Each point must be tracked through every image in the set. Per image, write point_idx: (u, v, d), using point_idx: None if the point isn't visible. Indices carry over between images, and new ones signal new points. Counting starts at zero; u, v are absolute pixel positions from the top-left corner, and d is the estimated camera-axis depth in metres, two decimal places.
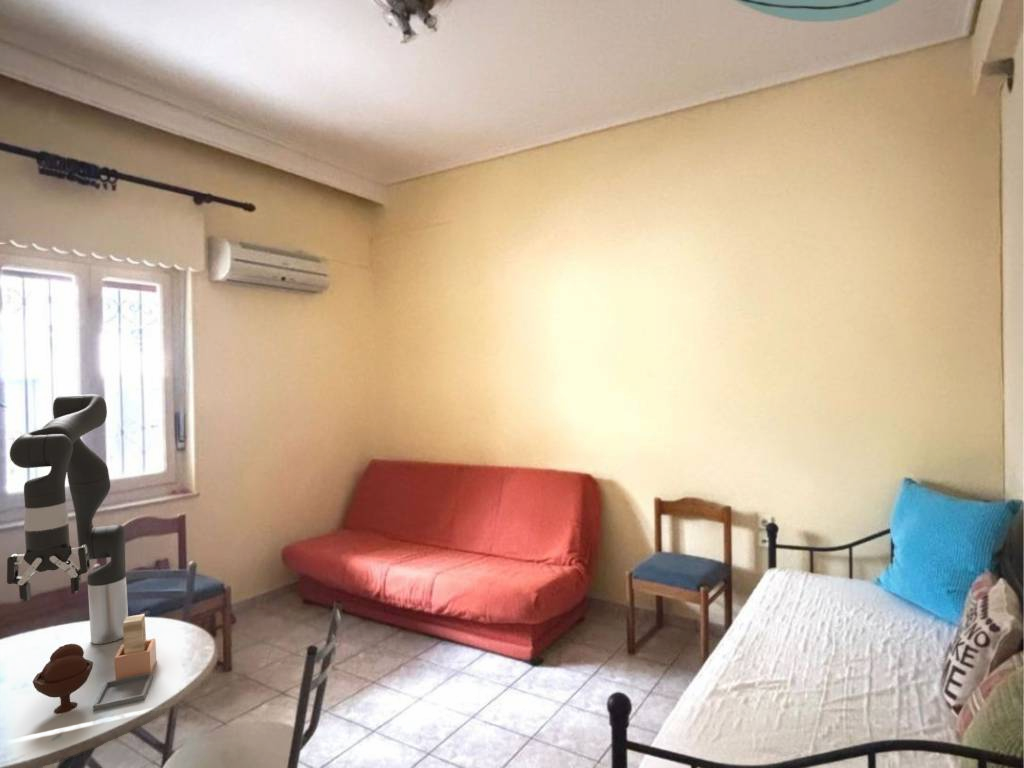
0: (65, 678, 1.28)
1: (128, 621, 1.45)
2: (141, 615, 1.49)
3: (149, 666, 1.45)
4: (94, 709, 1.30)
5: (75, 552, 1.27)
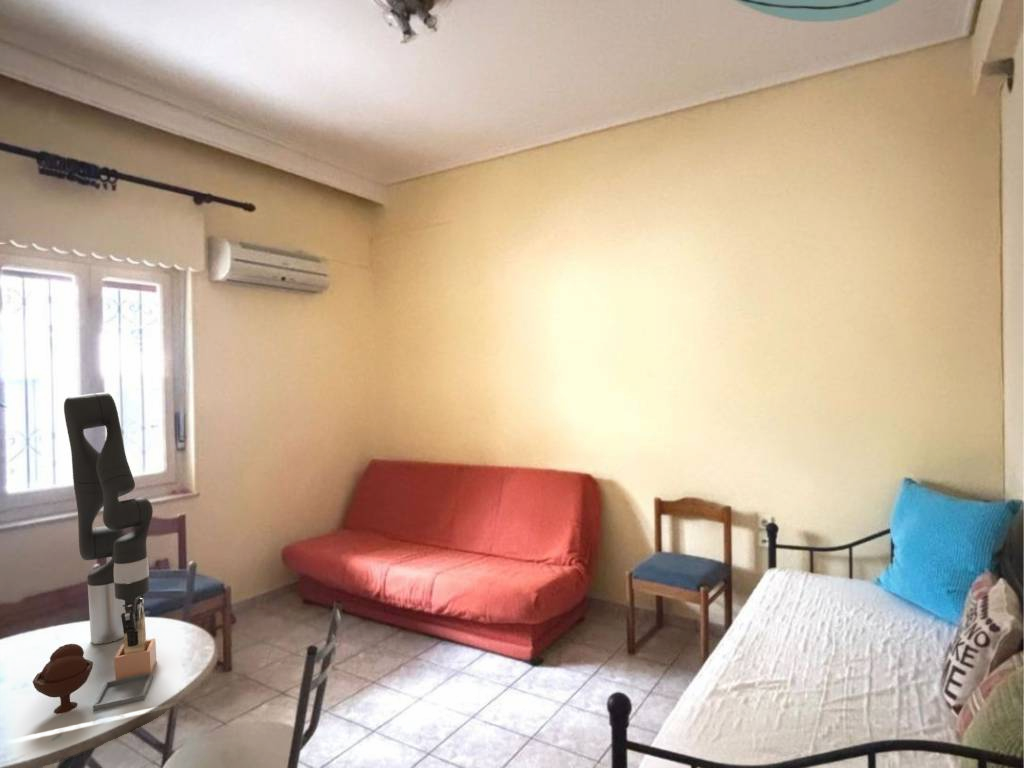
0: (65, 678, 1.28)
1: None
2: (141, 615, 1.49)
3: (149, 666, 1.45)
4: (94, 709, 1.30)
5: None
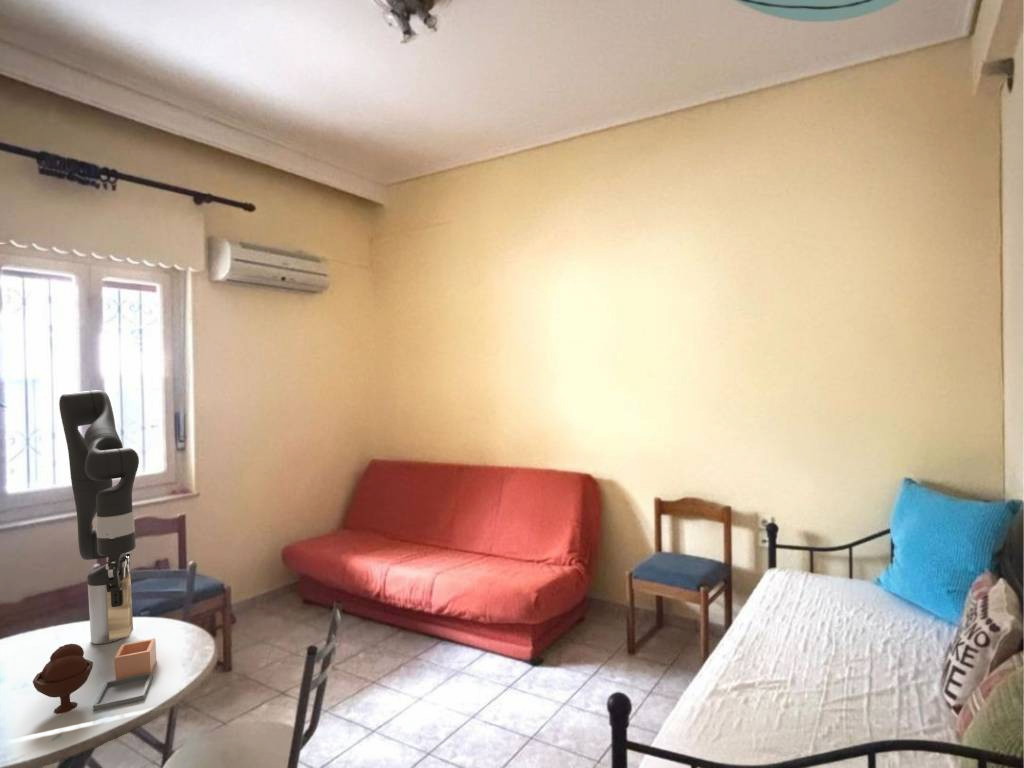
0: (65, 678, 1.28)
1: None
2: (126, 574, 1.38)
3: (149, 666, 1.45)
4: (94, 709, 1.30)
5: None
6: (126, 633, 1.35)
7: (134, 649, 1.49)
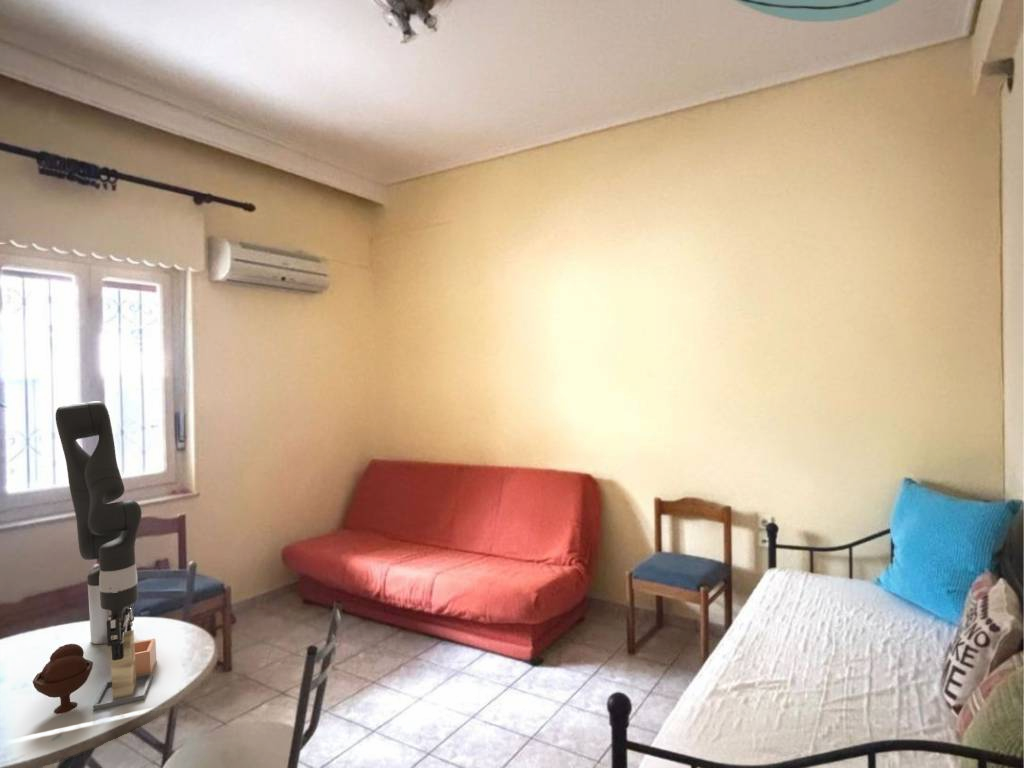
0: (65, 678, 1.28)
1: (115, 638, 1.35)
2: (130, 631, 1.39)
3: (149, 666, 1.45)
4: (94, 709, 1.30)
5: None
6: (129, 691, 1.36)
7: None
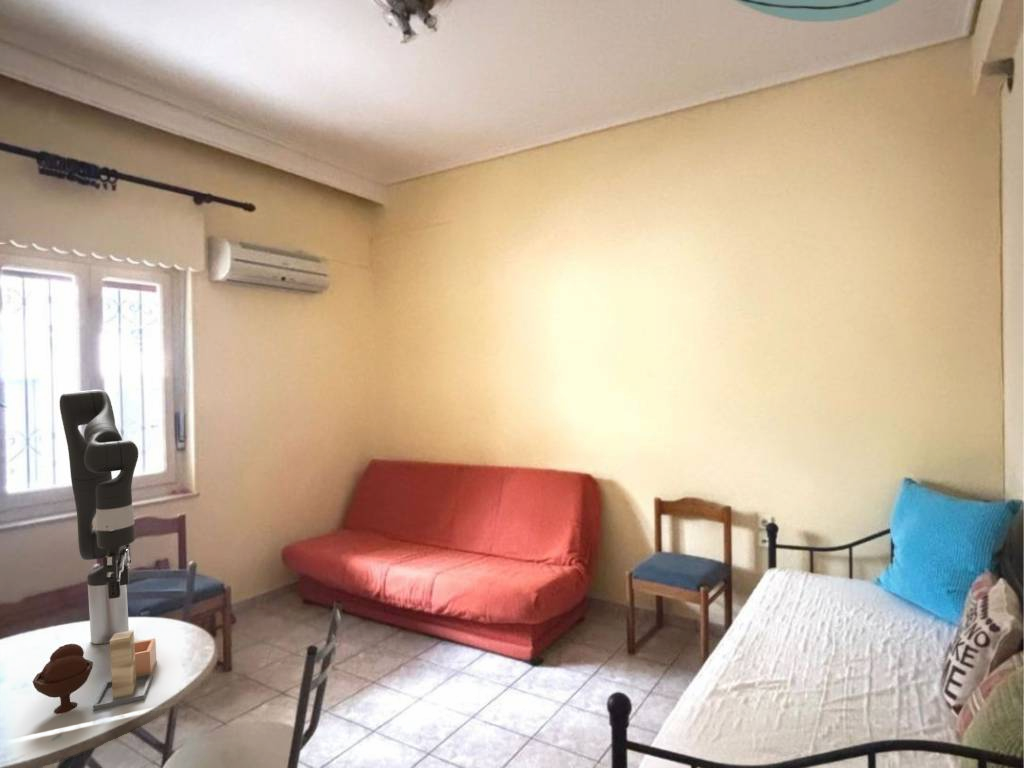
0: (65, 678, 1.28)
1: (115, 638, 1.35)
2: (130, 631, 1.39)
3: (149, 666, 1.45)
4: (94, 709, 1.30)
5: None
6: (129, 691, 1.36)
7: None
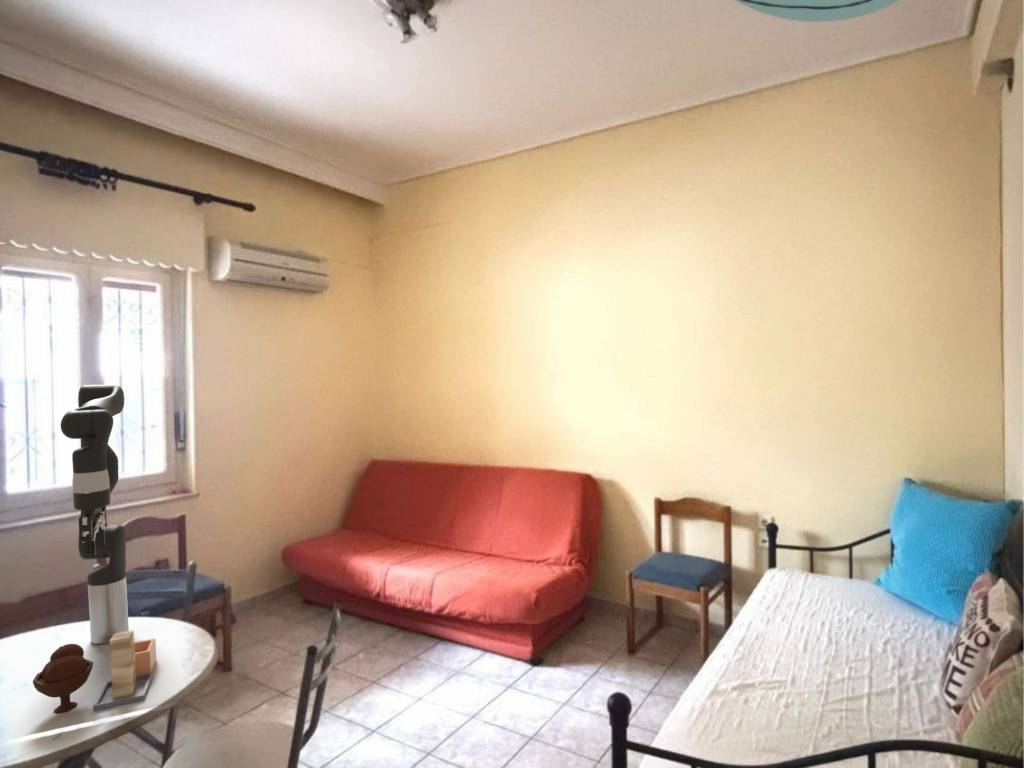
0: (65, 678, 1.28)
1: (115, 638, 1.35)
2: (130, 631, 1.39)
3: (149, 666, 1.45)
4: (94, 709, 1.30)
5: None
6: (129, 691, 1.36)
7: None
